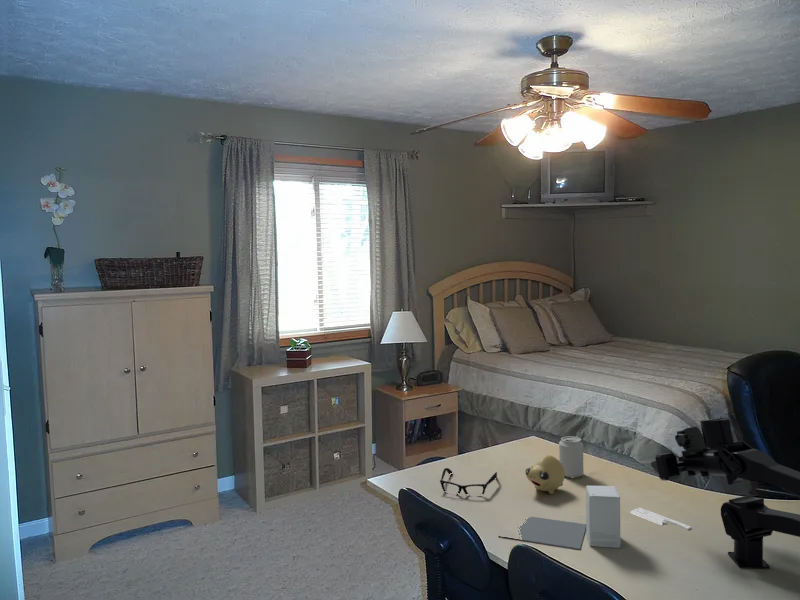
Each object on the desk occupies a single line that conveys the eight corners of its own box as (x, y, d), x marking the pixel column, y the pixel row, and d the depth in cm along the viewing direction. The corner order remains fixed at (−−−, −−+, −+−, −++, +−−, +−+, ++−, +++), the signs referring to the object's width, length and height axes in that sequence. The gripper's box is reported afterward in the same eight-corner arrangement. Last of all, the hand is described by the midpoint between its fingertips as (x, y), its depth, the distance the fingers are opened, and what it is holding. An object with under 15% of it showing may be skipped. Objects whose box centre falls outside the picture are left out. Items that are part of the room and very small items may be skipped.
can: (554, 473, 195) (553, 437, 194) (572, 469, 198) (572, 433, 197) (570, 480, 188) (569, 443, 187) (588, 476, 191) (588, 439, 190)
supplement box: (621, 548, 144) (620, 497, 143) (589, 546, 145) (588, 495, 144) (616, 534, 151) (616, 485, 150) (585, 532, 152) (585, 484, 152)
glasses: (435, 497, 181) (435, 481, 180) (449, 474, 198) (448, 460, 197) (490, 503, 176) (489, 486, 175) (499, 478, 192) (499, 463, 192)
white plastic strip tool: (679, 535, 150) (679, 531, 150) (628, 515, 163) (628, 511, 163) (691, 529, 153) (691, 525, 153) (640, 510, 166) (640, 506, 166)
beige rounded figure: (519, 492, 180) (519, 457, 179) (543, 481, 188) (543, 448, 187) (547, 501, 172) (546, 465, 172) (571, 490, 180) (570, 455, 179)
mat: (586, 525, 157) (586, 524, 156) (580, 549, 144) (580, 548, 144) (510, 514, 164) (510, 513, 164) (498, 537, 152) (498, 535, 152)
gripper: (733, 423, 148) (685, 426, 163) (675, 433, 142) (630, 435, 156) (744, 470, 146) (695, 468, 160) (685, 482, 140) (639, 479, 154)
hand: (665, 461), depth 158 cm, fingers open, 9 cm apart
